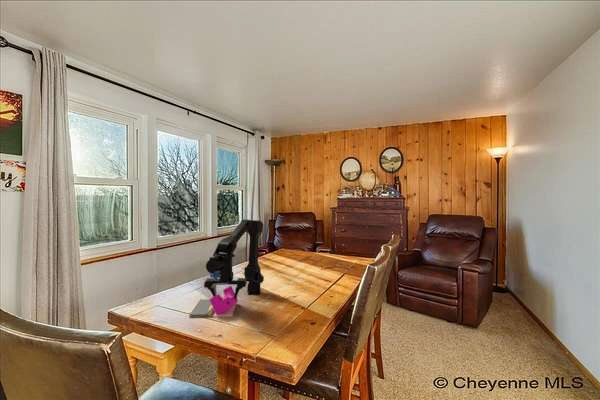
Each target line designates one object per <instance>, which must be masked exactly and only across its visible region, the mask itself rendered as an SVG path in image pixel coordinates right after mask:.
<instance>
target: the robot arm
mask: <svg viewBox="0 0 600 400" xmlns="http://www.w3.org/2000/svg"><path fill="white" fill-rule="evenodd" d="M263 229H264V223H263V221H261V220H254V219H241V220H240V223H239V224H238V225H237V226H236V228H235V229H233V231H232V232H231V233H230V234H229V235H228V236H225V237H223V238H222V239H221V240H220V241H219V242H218V243H217V246H216V248H215V250H214V252H213V254H212V256H210V257H209V259H208V260H207V262H206V263H205V269H206V270H207V271H206V272H208V273H209V274H211V273H214V272H217V271H219V277H220V278H219V280H216V279H215V278H214V277H213V278H211V277H210V278H209V277H208V278H206V280H205V281H204V283H203V288H205V289H207V290H209V291H210V293H211V295H212V297H214V296H216V295H218V294H217V286H222V285H223V286H225V285H226V286H228V285H229V286H232V285H234V286H235V285H236V287H235V291H234V293H235V299H236V298H237V299H238V294H239V292H240V290H242V289H243V288H247V295H252V296H253V295H261V284H262V283H263V282H264V279H265V277H264V276H263V274H262V273H261V266H260V265H259V250H260V247H259V246H260V236H261V235H262V233H263ZM246 232H247V234H248V235H249V247H248V249H249V250H248V251H249V252H248V264H247V265H246V266H245V267H244V272H243V276H244V277H238V278H237V280H236V279H235V280H234V271H233V258H235V257H236V255H235V253H234V252H235V250H236V249H237V248H238V244H237V243H238V242H239V240H240V239H241V238H242V237H243V236H244V234H245V233H246ZM247 282H248V283H247ZM246 286H247V287H246Z"/></svg>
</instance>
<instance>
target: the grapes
mask: <svg viewBox="0 0 600 400" xmlns="http://www.w3.org/2000/svg"><path fill="white" fill-rule="evenodd" d="M209 276H210V278H215V280H218V279H220V277H219V271H217V272H214V273H209Z"/></svg>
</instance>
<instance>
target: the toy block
mask: <svg viewBox="0 0 600 400" xmlns="http://www.w3.org/2000/svg"><path fill="white" fill-rule="evenodd" d="M223 296H224V297H222V296H221V295H220V294H217V295H216V296H214V297H213V296H212V297H211V298H208V299H209V300H210V302H211V304H212V306H213V308H214V312H215V313H216V315H218V314H220V313H222V312H224V311H226V310H228V309H230V308H231V307H232V306H233V305H234V304H235V303H236V302H237V303H238V302H239V300H238V297H237V298H236V299H235V291H234V289H233V287H232V285H229V286H228V287H225V288H224V289H223ZM237 303H236V304H237Z"/></svg>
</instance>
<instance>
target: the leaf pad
mask: <svg viewBox="0 0 600 400" xmlns="http://www.w3.org/2000/svg"><path fill="white" fill-rule="evenodd" d="M237 303H238V302H236V303H235V304H234V305H233V306H232V307H231V308H230V309H228V310H226V311H224V312H222V313H220V314H218V315H216V313H215V311H213V313H212V315H211V317H212V318H213V317H232V316H233V314H234V310H235V308H236V305H237Z"/></svg>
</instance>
